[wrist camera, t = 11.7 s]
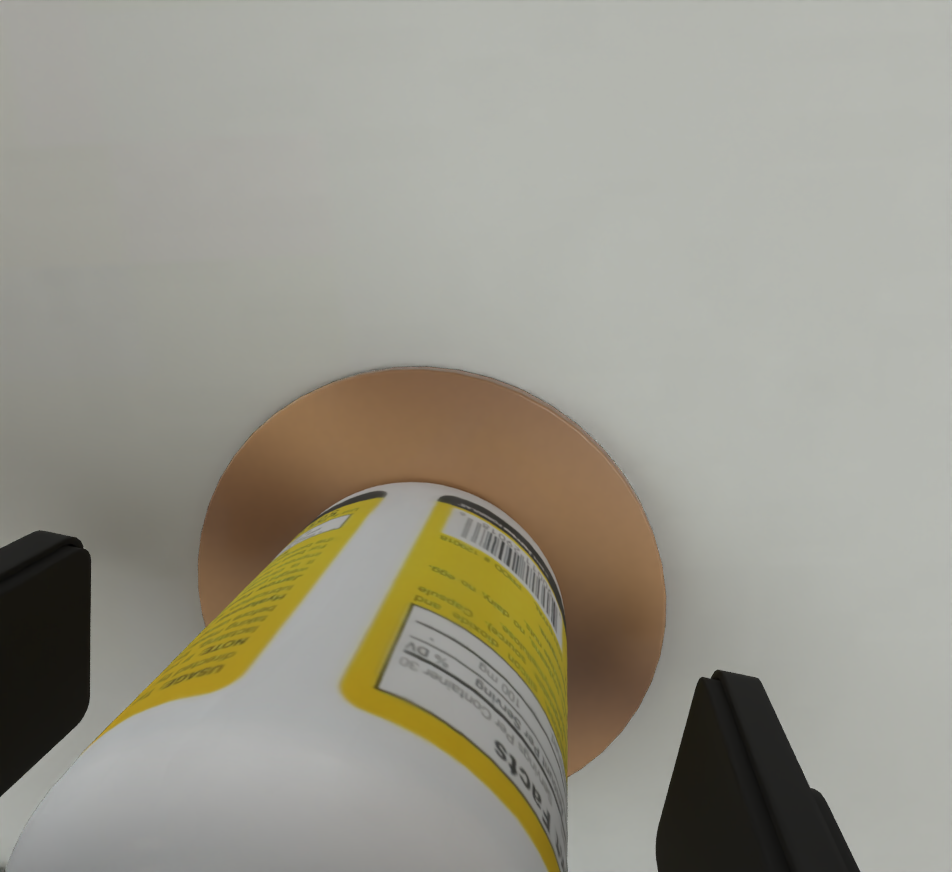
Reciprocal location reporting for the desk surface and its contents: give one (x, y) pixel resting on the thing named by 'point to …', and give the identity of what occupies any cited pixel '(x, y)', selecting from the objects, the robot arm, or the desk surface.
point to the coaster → (479, 473)
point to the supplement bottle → (344, 713)
